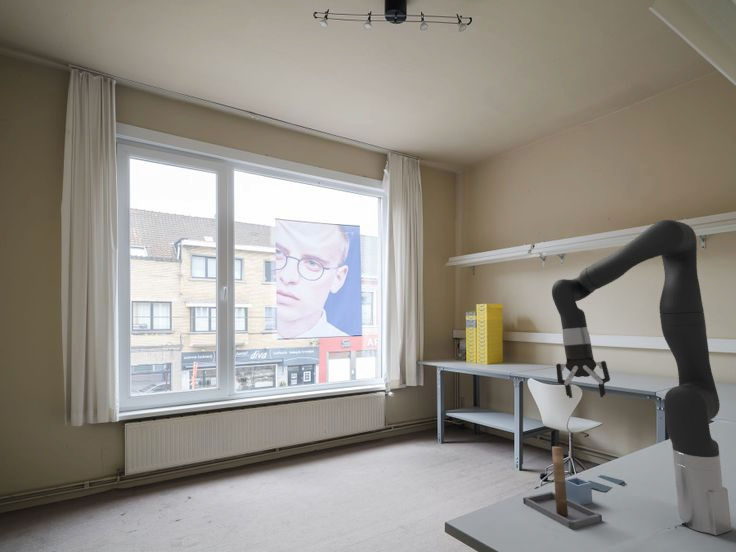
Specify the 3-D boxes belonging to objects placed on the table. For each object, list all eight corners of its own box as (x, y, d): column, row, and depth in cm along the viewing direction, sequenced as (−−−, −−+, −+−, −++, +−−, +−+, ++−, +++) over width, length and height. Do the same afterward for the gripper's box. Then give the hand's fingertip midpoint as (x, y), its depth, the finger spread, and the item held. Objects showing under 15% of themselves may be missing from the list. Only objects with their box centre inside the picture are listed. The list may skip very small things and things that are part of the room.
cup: (592, 506, 116) (591, 483, 116) (579, 509, 114) (577, 485, 114) (578, 499, 120) (576, 477, 121) (565, 502, 118) (563, 479, 119)
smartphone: (626, 480, 131) (605, 492, 121) (626, 486, 131) (606, 498, 121) (600, 474, 137) (578, 484, 127) (600, 479, 137) (578, 490, 127)
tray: (602, 525, 105) (601, 514, 105) (572, 533, 101) (571, 522, 101) (551, 500, 120) (551, 491, 120) (523, 507, 116) (523, 497, 116)
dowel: (570, 515, 108) (564, 448, 111) (561, 516, 107) (556, 448, 110) (563, 512, 110) (558, 446, 113) (554, 512, 110) (549, 446, 113)
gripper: (603, 341, 132) (613, 395, 129) (554, 344, 139) (562, 396, 136) (602, 341, 126) (612, 398, 123) (550, 345, 133) (559, 399, 130)
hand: (586, 397), depth 129 cm, fingers open, 8 cm apart
